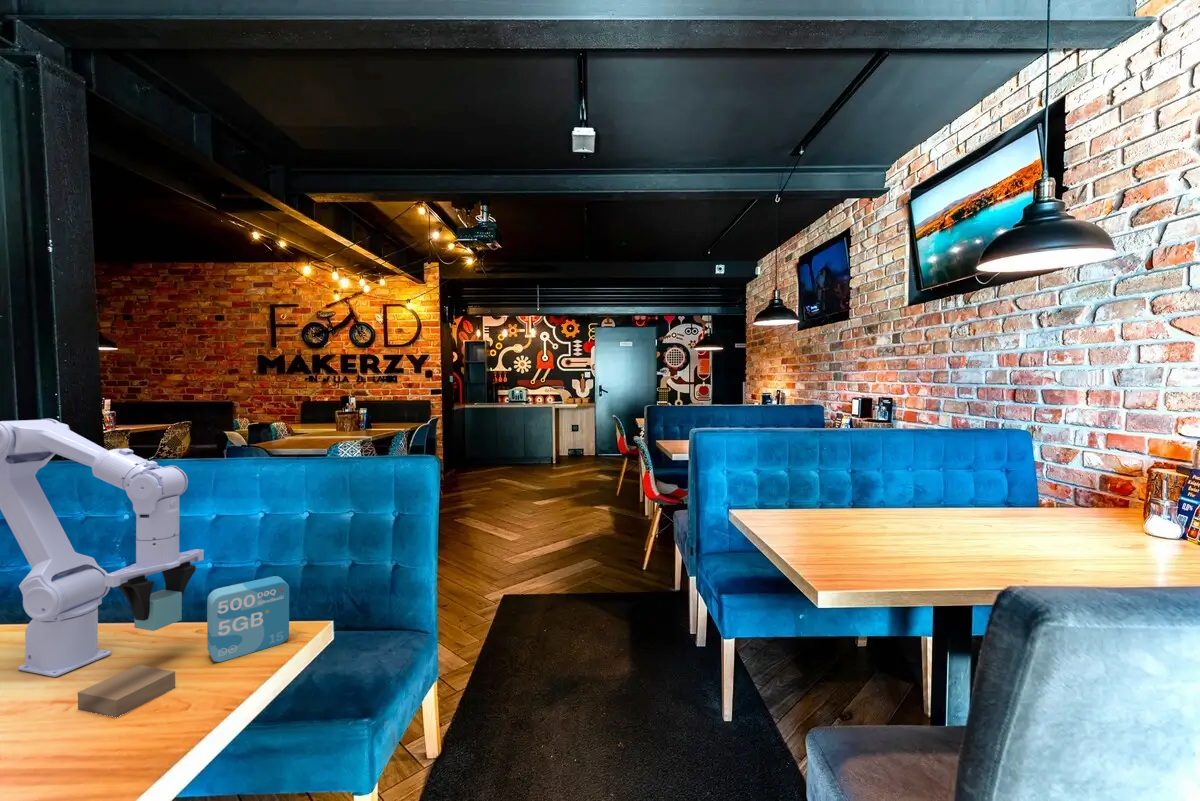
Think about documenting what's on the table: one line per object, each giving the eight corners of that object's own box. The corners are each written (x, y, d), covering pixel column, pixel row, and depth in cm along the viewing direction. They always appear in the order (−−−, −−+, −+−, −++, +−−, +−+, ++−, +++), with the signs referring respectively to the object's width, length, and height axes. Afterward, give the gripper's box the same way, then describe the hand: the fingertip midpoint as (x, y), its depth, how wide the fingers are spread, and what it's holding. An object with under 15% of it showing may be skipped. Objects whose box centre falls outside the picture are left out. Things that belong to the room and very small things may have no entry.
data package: (211, 665, 88) (211, 597, 88) (207, 656, 91) (207, 590, 91) (289, 641, 96) (289, 579, 96) (283, 634, 99) (283, 573, 99)
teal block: (134, 627, 87) (134, 599, 87) (162, 616, 91) (162, 589, 91) (154, 630, 86) (154, 601, 86) (181, 619, 90) (181, 592, 90)
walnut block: (77, 712, 75) (77, 692, 75) (138, 682, 83) (138, 664, 83) (116, 720, 73) (116, 700, 73) (175, 689, 81) (175, 671, 81)
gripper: (127, 550, 80) (127, 634, 80) (216, 527, 95) (216, 599, 95) (95, 546, 82) (95, 629, 82) (187, 525, 96) (187, 595, 96)
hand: (157, 613), depth 88 cm, fingers closed on teal block, 4 cm apart
